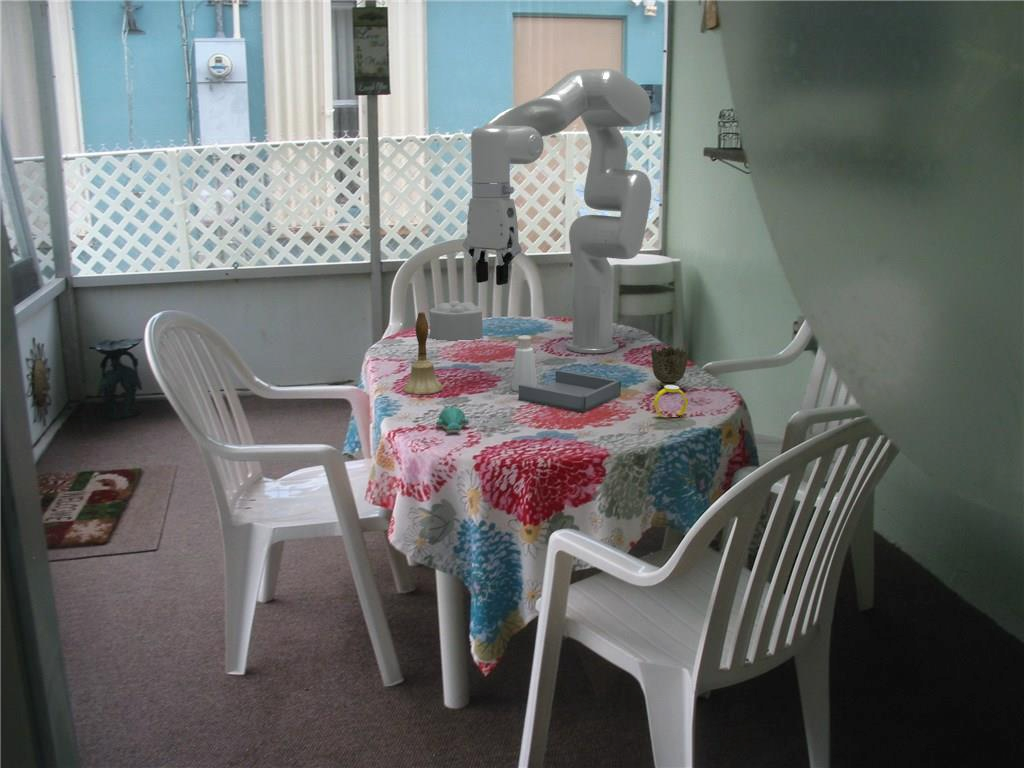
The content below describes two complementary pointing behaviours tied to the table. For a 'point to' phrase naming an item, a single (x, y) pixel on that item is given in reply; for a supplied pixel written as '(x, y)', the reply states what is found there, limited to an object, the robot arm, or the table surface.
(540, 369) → the table surface
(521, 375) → the pepper shaker
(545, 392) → the tray
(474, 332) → the lumpy-topped squat cylinder
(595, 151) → the robot arm
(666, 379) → the cup
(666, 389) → the watch
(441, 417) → the whale figurine
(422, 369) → the hand bell
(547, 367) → the table surface
